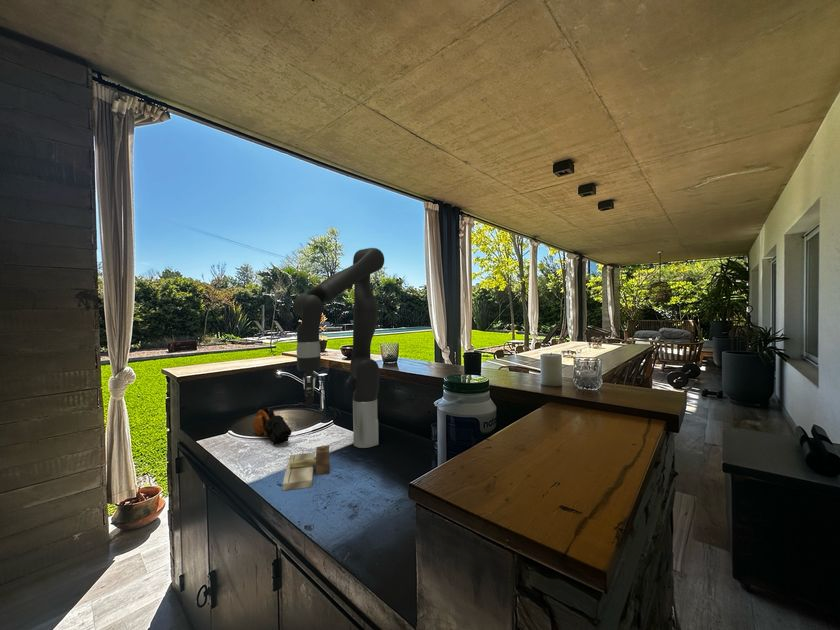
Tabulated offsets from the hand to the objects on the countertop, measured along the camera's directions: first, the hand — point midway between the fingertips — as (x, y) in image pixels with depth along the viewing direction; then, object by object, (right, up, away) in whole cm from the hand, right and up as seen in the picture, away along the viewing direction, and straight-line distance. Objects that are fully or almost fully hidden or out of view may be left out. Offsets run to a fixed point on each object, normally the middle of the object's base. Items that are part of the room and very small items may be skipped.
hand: (310, 403), depth 114 cm
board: (-2, -21, -5) cm, 21 cm away
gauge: (+2, -21, -5) cm, 21 cm away
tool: (-23, -21, +23) cm, 38 cm away
